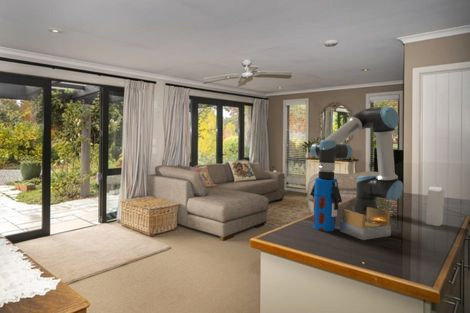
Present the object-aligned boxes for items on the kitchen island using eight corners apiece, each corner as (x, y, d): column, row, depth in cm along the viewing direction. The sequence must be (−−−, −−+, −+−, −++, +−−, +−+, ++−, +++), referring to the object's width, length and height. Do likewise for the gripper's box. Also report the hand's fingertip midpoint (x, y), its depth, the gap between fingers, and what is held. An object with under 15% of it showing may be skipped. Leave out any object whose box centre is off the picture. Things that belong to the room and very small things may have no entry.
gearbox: (340, 231, 153) (341, 209, 152) (366, 227, 161) (367, 206, 160) (362, 240, 140) (364, 215, 140) (390, 235, 148) (392, 212, 147)
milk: (437, 226, 167) (440, 185, 166) (425, 223, 172) (428, 184, 170) (442, 224, 171) (445, 184, 169) (430, 222, 176) (432, 183, 174)
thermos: (331, 232, 150) (334, 181, 149) (310, 228, 156) (312, 179, 154) (337, 227, 159) (339, 178, 158) (316, 224, 165) (318, 177, 163)
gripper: (304, 168, 165) (303, 208, 167) (339, 174, 143) (336, 219, 144) (316, 168, 169) (314, 207, 170) (351, 173, 146) (349, 218, 147)
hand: (324, 213), depth 157 cm, fingers open, 13 cm apart
